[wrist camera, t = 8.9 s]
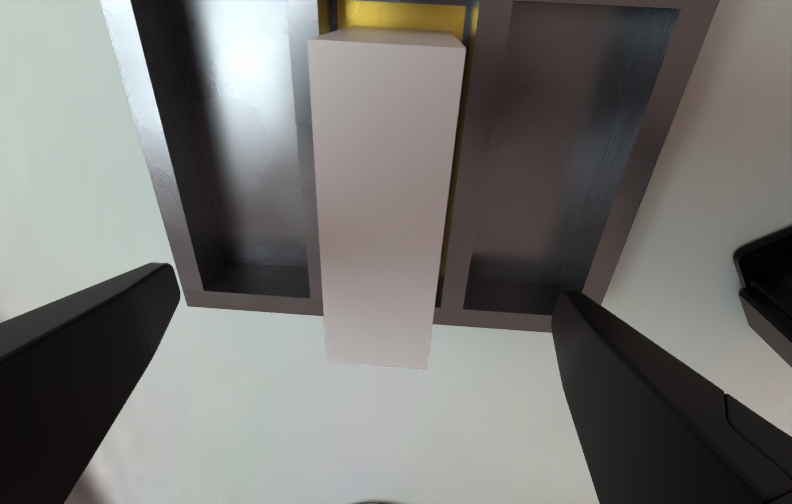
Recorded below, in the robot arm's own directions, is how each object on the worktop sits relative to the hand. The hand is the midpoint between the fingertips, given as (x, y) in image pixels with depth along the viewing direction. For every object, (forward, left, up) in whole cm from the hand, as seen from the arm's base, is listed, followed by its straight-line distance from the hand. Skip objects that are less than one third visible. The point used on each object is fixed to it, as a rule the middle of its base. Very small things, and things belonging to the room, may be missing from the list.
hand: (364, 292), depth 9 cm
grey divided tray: (0, 0, -10) cm, 10 cm away
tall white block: (0, 0, -9) cm, 9 cm away
